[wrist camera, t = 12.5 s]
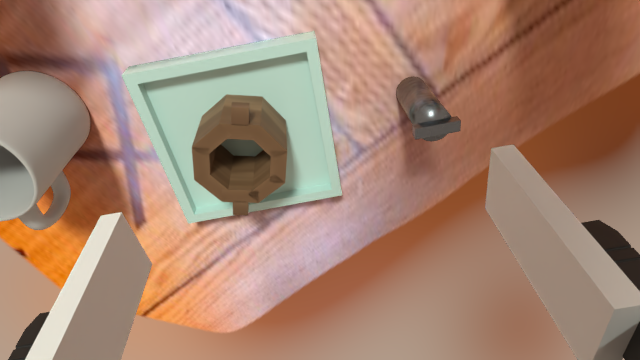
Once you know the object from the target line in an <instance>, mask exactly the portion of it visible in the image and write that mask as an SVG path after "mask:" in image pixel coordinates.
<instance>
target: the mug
mask: <svg viewBox="0 0 640 360" xmlns="http://www.w3.org/2000/svg"><path fill="white" fill-rule="evenodd" d="M89 131H90V116H89V113H88V110H87V108H86V106H85V104H84V102H83V101H82V99H81V98H80V97H79V95H78V94H77V93H76V92H75V91H74V90H73V89H71V88H70V87H69V86H68V85H66V84H65V83H63V82H62V81H60V80H58V79H57V78H54V77H52V76H50V75H47V74H44V73H40V72H34V71H19V72H14V73H10V74H7V75H5V76H3V77H1V78H0V221H6V220H11V219H15V218H19V219H20V220H21V221H22V222H23V223H24V224H25V225H26V226H28V227H29V228H31V229H34V230H43V229H46V228H48V227H50V226H52V225H53V224H54V223H56V222H57V221H58V220H59V219H60V217H61V216H62V215H63V213H64V212H65V210H66V208H67V206H68V203H69V200H70V196H71V189H70V185H69V182H68V180H67V178H66V176H65V174H64V172H63V171H62V170H63V169H64V167H65V166H66V165H67V163H68V162H69V161H70V160H71V158H72V157H73V156H74V155H75V153H76V152H77V151H78V150H79V149H80V147H81V146H82V145H83V144H84V142H85V141H86V139H87V137H88V135H89ZM50 186H51V188H52V190H53V195H54V197H53V201H52V204H51V206H50V208H49V210H48V211H47V212H46V213H45V214H44V215H43V214H42V213H41V211H40V210H39V208H38V206H37V204H36V203H37V202H38V201H39V200H40V198H41V197H42V196H43V194H44V193H45V192H46V191H47V189H48V188H49V187H50Z"/></svg>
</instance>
